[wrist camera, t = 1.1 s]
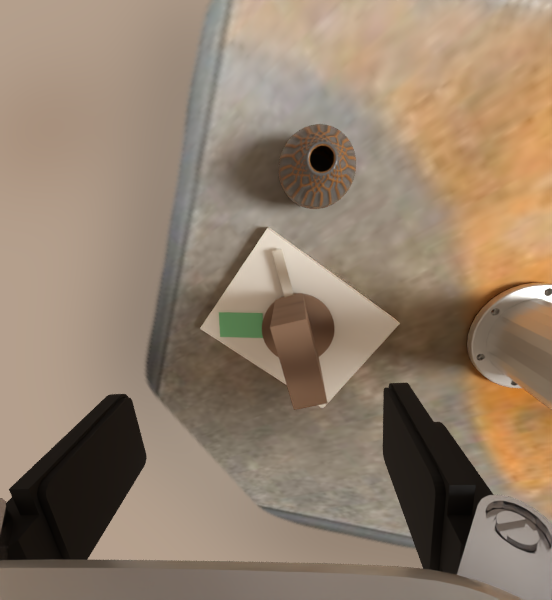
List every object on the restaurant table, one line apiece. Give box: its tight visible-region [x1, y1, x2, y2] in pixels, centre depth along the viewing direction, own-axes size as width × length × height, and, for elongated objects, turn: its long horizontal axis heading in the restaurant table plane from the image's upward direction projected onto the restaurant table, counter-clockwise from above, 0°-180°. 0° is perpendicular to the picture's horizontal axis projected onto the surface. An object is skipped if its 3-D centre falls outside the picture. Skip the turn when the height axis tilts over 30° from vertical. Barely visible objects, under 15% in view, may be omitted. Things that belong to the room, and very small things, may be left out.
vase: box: [279, 124, 356, 209], centre depth 26 cm, size 7×7×9 cm
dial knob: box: [262, 249, 335, 410], centre depth 28 cm, size 13×8×9 cm, turn 15°
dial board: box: [200, 227, 400, 408], centre depth 34 cm, size 18×14×2 cm
